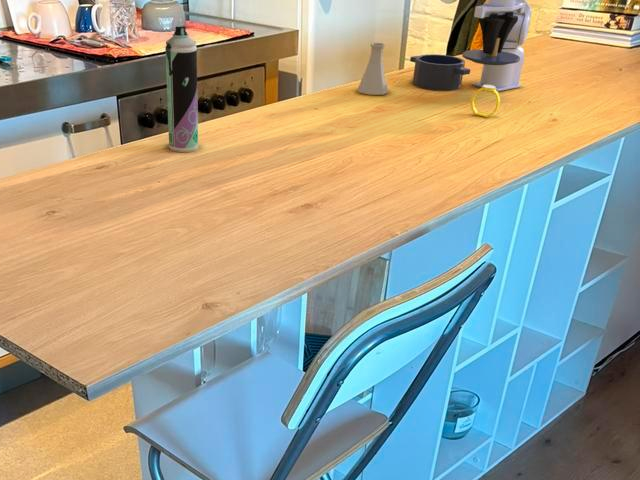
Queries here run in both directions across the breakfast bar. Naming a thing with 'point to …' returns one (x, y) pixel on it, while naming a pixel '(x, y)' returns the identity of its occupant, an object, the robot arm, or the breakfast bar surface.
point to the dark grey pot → (438, 72)
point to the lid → (491, 56)
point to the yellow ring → (486, 88)
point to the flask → (374, 73)
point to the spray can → (182, 91)
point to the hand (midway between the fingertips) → (491, 52)
